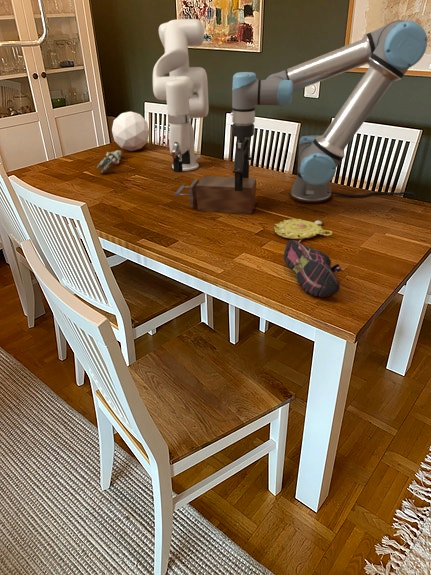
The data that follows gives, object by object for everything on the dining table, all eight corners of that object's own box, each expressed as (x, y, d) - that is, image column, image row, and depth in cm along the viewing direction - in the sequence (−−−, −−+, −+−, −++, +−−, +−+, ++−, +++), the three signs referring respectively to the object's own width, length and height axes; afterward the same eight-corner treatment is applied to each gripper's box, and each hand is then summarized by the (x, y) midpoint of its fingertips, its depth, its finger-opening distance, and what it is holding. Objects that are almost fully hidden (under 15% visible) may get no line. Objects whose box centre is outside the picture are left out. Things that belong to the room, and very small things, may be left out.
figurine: (101, 154, 197) (119, 141, 223) (91, 167, 200) (110, 152, 227) (114, 165, 199) (130, 151, 225) (103, 178, 203) (121, 162, 229)
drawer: (175, 206, 166) (173, 186, 162) (182, 197, 174) (180, 178, 169) (240, 210, 161) (240, 189, 157) (244, 200, 169) (244, 181, 164)
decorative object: (286, 211, 157) (342, 219, 147) (286, 217, 158) (341, 226, 148) (260, 233, 142) (319, 243, 133) (260, 240, 144) (319, 251, 134)
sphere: (125, 161, 242) (105, 129, 240) (156, 144, 244) (137, 111, 242) (123, 152, 223) (102, 117, 221) (157, 133, 225) (136, 98, 223)
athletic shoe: (326, 286, 106) (365, 278, 110) (286, 224, 118) (323, 219, 122) (310, 314, 115) (347, 305, 119) (274, 254, 127) (309, 248, 131)
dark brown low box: (197, 210, 164) (196, 185, 159) (204, 200, 173) (203, 175, 168) (251, 214, 160) (251, 188, 155) (255, 203, 169) (256, 178, 164)
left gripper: (176, 113, 161) (179, 160, 170) (160, 124, 147) (165, 174, 156) (196, 114, 159) (198, 161, 168) (182, 124, 145) (185, 175, 154)
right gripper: (238, 115, 160) (237, 172, 171) (224, 131, 139) (224, 195, 151) (259, 115, 158) (257, 173, 170) (248, 132, 138) (246, 197, 150)
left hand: (182, 167), depth 162 cm, fingers open, 9 cm apart
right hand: (241, 184), depth 160 cm, fingers open, 13 cm apart
